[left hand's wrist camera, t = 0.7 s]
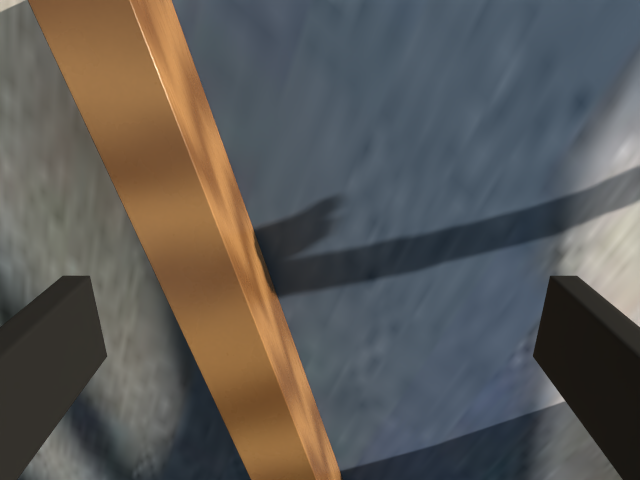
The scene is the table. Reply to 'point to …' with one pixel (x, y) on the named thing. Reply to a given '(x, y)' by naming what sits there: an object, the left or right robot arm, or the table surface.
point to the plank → (191, 222)
